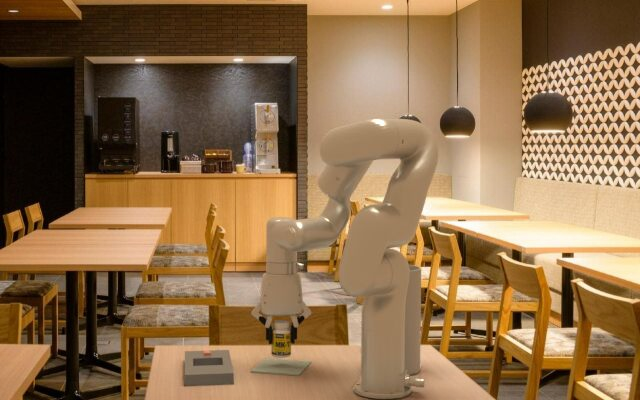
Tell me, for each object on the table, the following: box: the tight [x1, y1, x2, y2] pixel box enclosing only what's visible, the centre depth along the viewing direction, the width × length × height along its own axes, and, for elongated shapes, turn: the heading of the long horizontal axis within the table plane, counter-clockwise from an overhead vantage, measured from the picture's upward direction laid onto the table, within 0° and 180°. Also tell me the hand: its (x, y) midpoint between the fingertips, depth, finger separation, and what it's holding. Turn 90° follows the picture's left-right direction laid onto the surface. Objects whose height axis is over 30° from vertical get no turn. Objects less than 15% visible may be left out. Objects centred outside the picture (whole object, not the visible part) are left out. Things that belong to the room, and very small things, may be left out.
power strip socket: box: [184, 349, 235, 387], centre depth 202 cm, size 22×11×3 cm, turn 9°
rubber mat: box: [250, 358, 312, 377], centre depth 206 cm, size 12×12×1 cm
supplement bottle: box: [270, 319, 292, 359], centre depth 206 cm, size 5×5×8 cm
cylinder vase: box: [404, 264, 422, 376], centre depth 203 cm, size 12×12×25 cm
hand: (281, 341), depth 206 cm, fingers closed on supplement bottle, 4 cm apart
